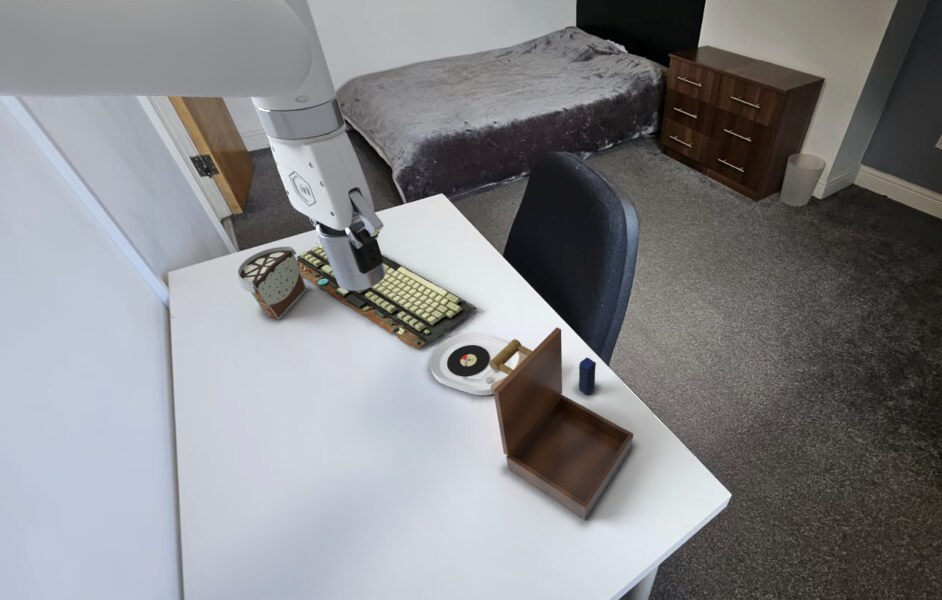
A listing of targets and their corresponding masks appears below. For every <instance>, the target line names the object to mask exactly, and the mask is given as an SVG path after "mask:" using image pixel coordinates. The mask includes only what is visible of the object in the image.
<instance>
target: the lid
mask: <svg viewBox="0 0 942 600" xmlns="http://www.w3.org/2000/svg"><path fill="white" fill-rule="evenodd" d="M518 351H519V352H521V353H523V354H525V355H527V357H526V358H525V359H524V360H523V361H522V362H521V363H520V364H519V365H518V366H517V367H516V368H515V369H514V370H513V369H511V368H510V367H508V366H506V365H504V364H505V363H506V362H507V361H508V360H509V359H510V358H511V357H512V356H513V355H514V354H515V353H516V352H518ZM562 355H563V354H562V329H561V328H560V327H556V328H554V329H553V330H552V331H551V332H550V333H549V334H548V335H547V336H546V338H544V339H543V340H542V341H541V342H540V343H539V344H538V345H537V346H536V347H535V348H534V349H533V350H531V349H529V348H527V347H526V346H523V345H522V343H521V341H519V340H518V339H516V338H513V339H512V340H511V341H510V342H509V344H508V345H507V346H506V347H505V348H504V349H503V350H501V351H500V352H499V353H498V354H497V355H496V356H495V357H494V358H493V359H492V360H491V361H490V362H489V365H490V367H491V368H492V369H493V370H495V371H498V370H500V371H502V372H504V373H506V374H507V375H508V376H507V377H506V378H505V379H504V380H503V381H502V382H501V383H500V384H499V385H498V386H497V387H496V388H495V389H494V390H493V392H494V394H493V397H494V403H495V408H496V409H495V410H496V415H497V416H496V417H497V421H498V427H499V433H500V440H501V446H502V451H503V454H504V455H506V456H508V455H509V454H510V453H511V452H512V451H513V449H514V448H515V447H516V446H517V445H518V444H519V442H520V441H521V440H522V439H523V438H524V437H525V435H526V434H527V433H528V432H529V431H530V430H531V428H532V427H533V426H534V425H535V424H536V423H537V421H538V420H539V419H540V418H541V417H542V416H543V414H544V413H545V412H546V411H547V410H548V409H549V407H550V406H551V405H552V404H553V403H554V402H555V400H556V399H557V398H558V397H559V396H560V395H561V394H562V393H563V359H562V357H563V356H562Z"/></svg>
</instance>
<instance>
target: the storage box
mask: <svg viewBox="0 0 942 600" xmlns="http://www.w3.org/2000/svg"><path fill="white" fill-rule="evenodd" d="M633 441H634V433H633V432H631V431H630V430H627V429H626V428H624V427H622V426H620V425H618V424H617V423H615V422H613V421H611V420H609V419H608V418H606V417H604V416H602V415H600V414H598V413H596V412H595V411H593V410H591V409H589V408H587V407H585V406H584V405H582V404H580V403H578V402H576V401H574V400H572V399H571V398H569V397H568V396H565V395H564V394H562V393H561V395H560V396H559V397H558V398H557V399H556V400H555V402H554V403H553V404H552V405H551V406H550V407H549V409H548V410H547V411H546V412H545V413H544V414H543V416H542V417H541V418H540V419H539V420H538V421H537V423H536V424H535V425H534V426H533V427H532V428H531V430H530V431H529V432H528V433H527V434H526V435H525V437H524V438H523V439H522V440H521V441H520V442H519V444H518V445H517V446H516V447H515V448H514V449H513V451H512V452H511V453H510V454H509V455H508V456H507V455H506V457H505V459H506V465H507V470H508V471H510V473H512V474H514V475H515V476H517V477H519V479H521V480H523V481H525V483H527V484H529V485H530V486H532V487H534V488H535V489H537V490H538V491H540V492H541V493H542V494H544V495H545V496H547V497H548V498H550V499H552V500H553V501H554V502H556V503H558V504H559V505H561V506H562V507H563V508H565V509H567V510H568V511H570V512H571V513H573V514H574V515H575V516H577V517H578V518H580V519H581V520H583V521H585V520H586V519H587V517H588V516H589V515H590V513H591V511H592V510H593V508H594V507H595V505H596V503H597V502H598V500H599V499H600V497H601V495H602V494H603V493H604V491H605V490H606V488H607V486H608V485H609V483H610V482H611V481H612V479H613V477H614V475H615V474H616V473H617V472H618V469H619V468H620V466H621V464H622V463H623V461H624V460H625V458H626V457H627V455H628V454H629V452H630V451H631V449H632V447H633Z"/></svg>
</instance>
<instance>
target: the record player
mask: <svg viewBox="0 0 942 600" xmlns="http://www.w3.org/2000/svg"><path fill="white" fill-rule="evenodd" d="M509 343H510V342H509ZM509 343H508V342H506V341H504V340H501V339H498V338H494V337H491V336H487V335H485V334H481V333H475V332H464V333H458V334H456V335H453V336H450V337H449V338H446V339H444V340H443V341H442V342H441V343H440V344H438V345H437V346H436V348H435V349H434V350H433V351H432V354H431V356H430V360H429V365H430V370H431V373H432V375H433V377H434V378H435V380H436V381H437V382H439V383H440V384H442V385H444V386H446V387H449V388H451V389H452V388H453V389H455V390H457V391H461V392H464V393H468V394H470V395H475V396H489V395H494V392H493V390H494V389H495V388H496V387H497V386H498V385H499V384H500V383H501V382H502V381H503V380H504V379H505V378H506V377H507V376H508V375H507V374H506V373H504V372H502V371H500V370H498V371H495V370H493V369H492V368H491V367H490V365H489V362H490V361H491V360H492V359H493V358H494V357H495V356H496V355H497V354H498V353H499V352H500V351H501V350H503V349H504V348H505V347H506V346H507V345H508V344H509ZM526 357H527V355H525V354H523V353H521V352H519V351H518V352H516V353H515V354H514V355H513V356H512V357H511V358H510V359H509V360H508V361H507V362H506V363H505V364H504V365H506V366H508V367H510V368H511V369H513V370H514V369H515V368H516V367H517V366H518V365H519V364H520V363H521V362H522V361H523V360H524V359H525V358H526Z"/></svg>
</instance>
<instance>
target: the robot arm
mask: <svg viewBox="0 0 942 600" xmlns="http://www.w3.org/2000/svg"><path fill="white" fill-rule="evenodd" d="M114 96H115V97H121V96H122V97H123V96H124V97H125V96H128V97H129V96H130V97H131V96H134V97H135V96H137V97H184V98H250V100H251V101H252V104H253V107H254V109H255V111H256V114H257V116H258V119H259V121H260V123H261V126H262V128H263V130H264V132H265V135H266V137H267V139H268V142H269V147H270V150H271V153H272V156H273V159H274V162H275V165H276V168H277V171H278V174H279V176H280V179H281V181H282V185H283V187H284V190H285V192H286V194H287V197H288V200H289V202H290V204H291V206H292V207H293V208H294V209H295V210H296V211H297V212H299V213H301V214H303V215H305V216H306V217H308V218H309V222H310V223H311V225H312V226H313V227H314V229H315V231H316V227H317V225H318V224H319V222H320V223H322V224H324V225H326V226H329V227H331V228H333V229H336V230H340V231H342V230H345V231H346V233H347V235H348V236H349V238H350V240H351V242H352V243H353V246H351V247H350V248H351V250H352V253H353V256H354V258H355V261H356V264H357V267H358V269H359V272H361V273H362V274H365V273H367V272H369V271H370V270H372V269H374V268H376V267H377V266H379V265H381V264H382V263H383V257H382V255H383V254H382V252H381V248H380V244H379V242H378V239H379V234H380V232H381V230H382V229H383V228H384V223H383V221H382V220H381V218H380V217H379V216H378V214H377V213H376V212H375V206H374V202H373V198H372V194H371V191H370V187H369V185H368V182H367V179H366V177H365V174H364V171H363V169H362V167H361V166H362V165H361V163H360V160H359V159H358V155H357V153H356V151H355V149H354V146H353V145H352V142H351V140H350V138H349V136H348V133H347V131H345V130H346V128H347V124H346V121H345V118H344V114H343V111H342V109H341V104H340V102H339V99H338V95H337V93H336V89H335V86H334V83H333V79H332V76H331V73H330V69H329V66H328V63H327V60H326V57H325V53H324V50H323V47H322V43H321V41H320V37H319V34H318V31H317V27H316V24H315V21H314V17H313V14H312V11H311V8H310V5H309V2H308V0H0V97H15V98H16V97H17V98H43V99H44V98H48V99H49V98H50V99H52V98H82V97H83V98H84V97H86V98H87V97H114ZM354 212H356V213H357V215H358V216H356V217H354V218H352V213H354ZM360 222H361V223H362V224H363V226H364V229H363V230H361V231H360V233H359V234H358V235H357V233H356V231H355V230H354V228H353V226H354V225H356V224H358V223H360Z"/></svg>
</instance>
